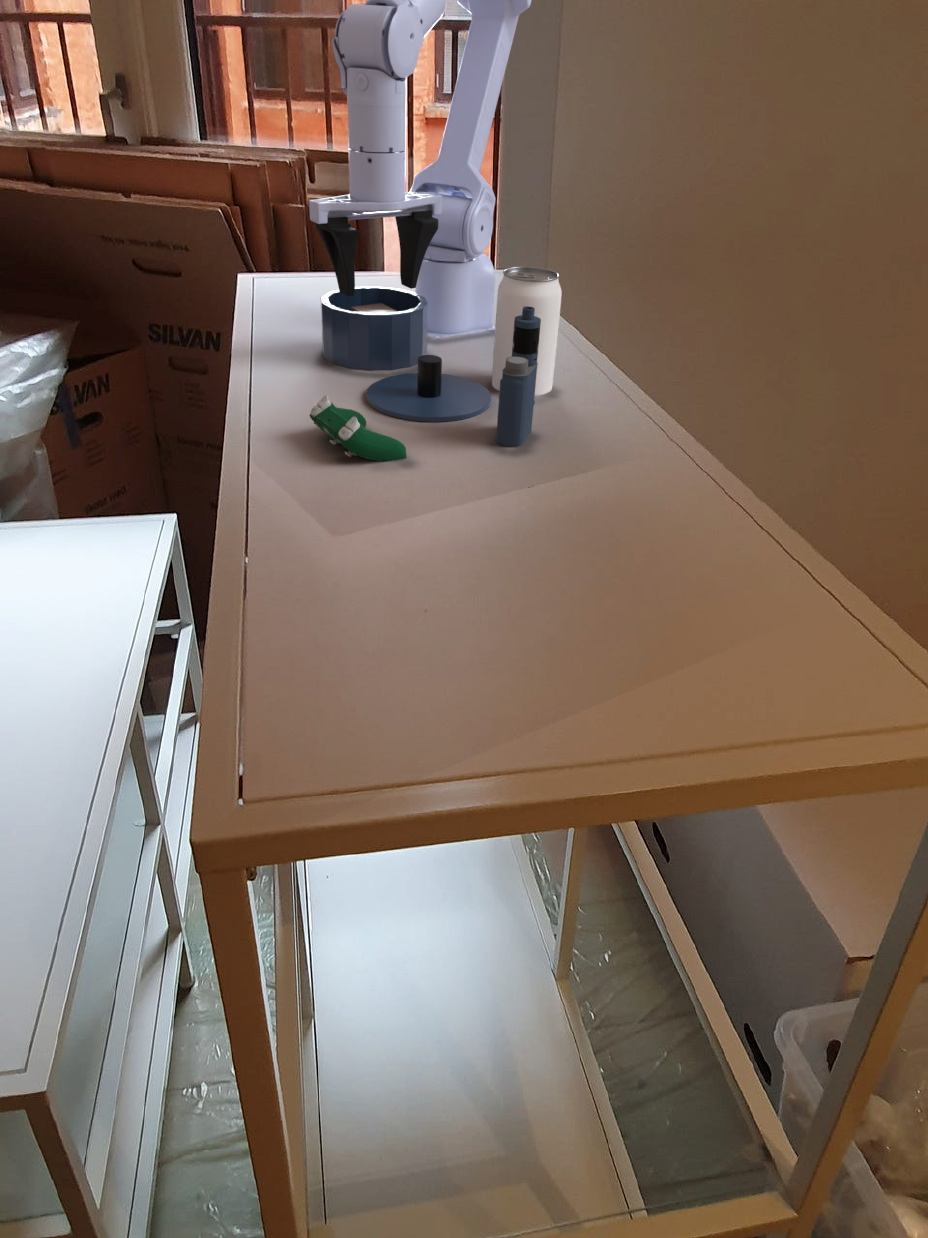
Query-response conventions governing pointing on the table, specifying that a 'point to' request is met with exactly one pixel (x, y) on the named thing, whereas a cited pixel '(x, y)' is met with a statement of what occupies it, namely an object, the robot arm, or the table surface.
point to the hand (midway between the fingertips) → (378, 289)
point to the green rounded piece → (355, 433)
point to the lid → (428, 394)
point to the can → (545, 297)
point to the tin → (374, 329)
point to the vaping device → (519, 382)
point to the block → (373, 308)
